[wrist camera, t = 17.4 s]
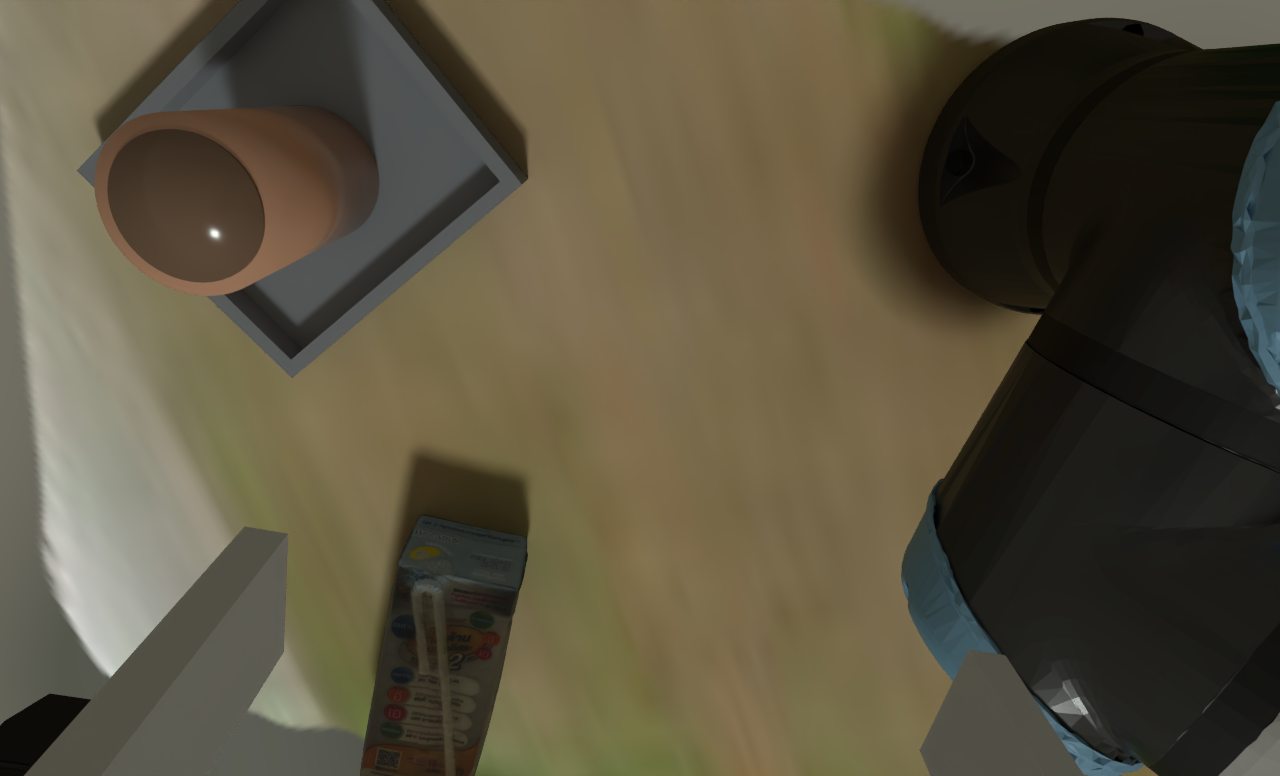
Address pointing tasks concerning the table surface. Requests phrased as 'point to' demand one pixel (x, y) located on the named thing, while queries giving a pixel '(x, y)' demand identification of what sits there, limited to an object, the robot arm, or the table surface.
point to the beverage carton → (443, 649)
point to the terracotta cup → (232, 192)
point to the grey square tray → (391, 125)
